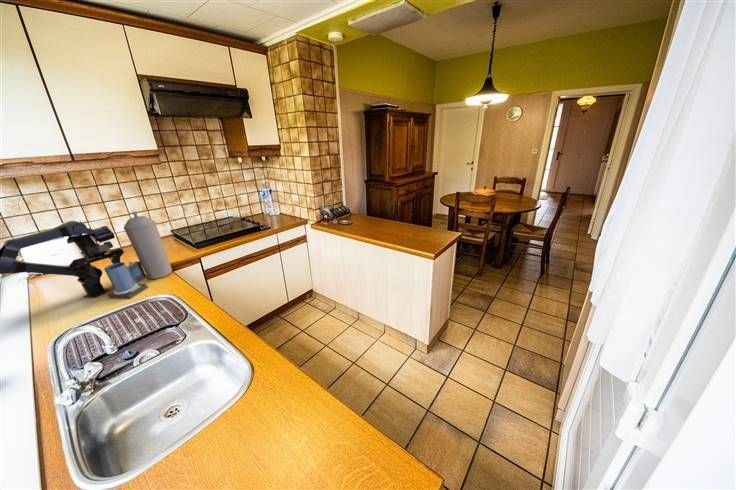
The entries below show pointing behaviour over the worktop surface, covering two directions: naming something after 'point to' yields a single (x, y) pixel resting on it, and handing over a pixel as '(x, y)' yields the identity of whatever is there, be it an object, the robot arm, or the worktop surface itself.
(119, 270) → the blue cup
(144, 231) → the canister
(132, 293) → the scale
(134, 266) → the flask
